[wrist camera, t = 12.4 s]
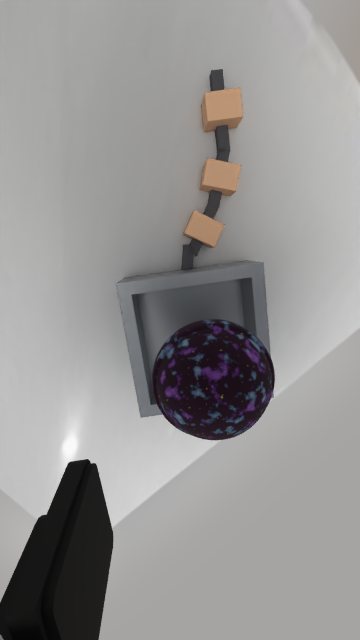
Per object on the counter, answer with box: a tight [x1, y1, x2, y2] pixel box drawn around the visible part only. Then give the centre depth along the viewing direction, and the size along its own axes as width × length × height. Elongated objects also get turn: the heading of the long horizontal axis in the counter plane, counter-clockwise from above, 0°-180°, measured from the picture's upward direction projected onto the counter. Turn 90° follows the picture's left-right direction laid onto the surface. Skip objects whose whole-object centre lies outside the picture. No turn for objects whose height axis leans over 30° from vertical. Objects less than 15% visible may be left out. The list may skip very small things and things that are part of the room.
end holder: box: [116, 261, 274, 417], centre depth 27 cm, size 12×12×5 cm
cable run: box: [182, 69, 243, 270], centre depth 26 cm, size 16×4×2 cm, turn 172°
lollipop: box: [152, 319, 275, 440], centre depth 22 cm, size 7×7×15 cm
